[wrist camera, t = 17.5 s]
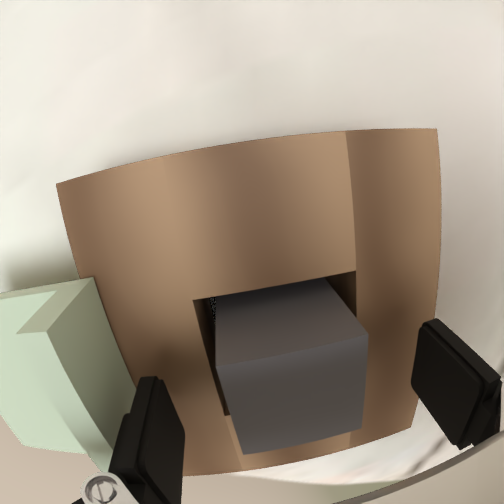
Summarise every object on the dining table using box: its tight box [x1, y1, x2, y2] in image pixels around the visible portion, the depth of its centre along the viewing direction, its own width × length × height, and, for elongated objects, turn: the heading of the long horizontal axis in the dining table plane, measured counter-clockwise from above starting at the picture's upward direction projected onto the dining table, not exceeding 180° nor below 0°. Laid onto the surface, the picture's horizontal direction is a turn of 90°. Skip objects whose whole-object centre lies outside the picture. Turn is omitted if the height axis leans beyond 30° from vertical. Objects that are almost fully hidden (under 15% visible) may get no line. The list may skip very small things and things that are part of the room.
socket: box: [56, 129, 441, 476], centre depth 15 cm, size 14×16×5 cm
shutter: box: [0, 277, 136, 472], centre depth 10 cm, size 9×9×4 cm
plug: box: [216, 277, 368, 455], centre depth 13 cm, size 4×4×8 cm
